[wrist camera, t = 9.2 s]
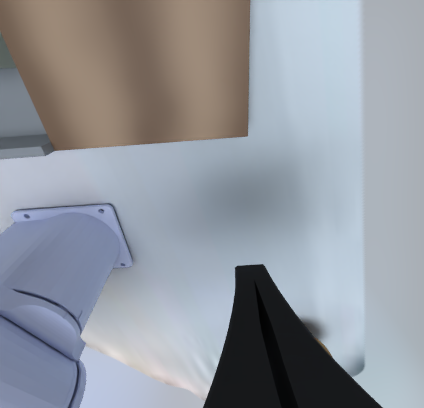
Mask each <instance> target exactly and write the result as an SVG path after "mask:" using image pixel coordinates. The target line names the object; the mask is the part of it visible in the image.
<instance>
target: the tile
mask: <svg viewBox="0 0 424 408" xmlns="http://www.w3.org/2000/svg"><path fill="white" fill-rule="evenodd" d="M6 68H17V67H16V65H15V63H14V61H13V59H12V56H11V54H10V52H9V50H8V48H7V45H6V43H5V41H4V39H3V37H2V34H1V32H0V69H6Z"/></svg>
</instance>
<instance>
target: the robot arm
mask: <svg viewBox="0 0 424 408" xmlns="http://www.w3.org/2000/svg"><path fill="white" fill-rule="evenodd" d="M101 209H103V210H104V211H102V210H101ZM27 214H28V215H27ZM11 217H12V219H13V220H14V222H15V223H14V224H12V225H11V226H10V227H9V228H7V229H6V230H5V231H4V232H2V233H1V234H0V408H79V407H80V404H81V401H82V398H83V394H84V391H85V385H86V370H85V367H84V364H83V363H82V362H81V361H80V359H79V358H80V356H81V354H82V351H83V349H84V347H85V345H86V343H85V342H84V341H83V340H82V339H81V337H80V335H81V333H82V331H83V329H84V327H85V325H86V323H87V321H88V318H89V316H90V314H91V312H92V310H93V308H94V306H95V304H96V302H97V299H98V297H99V295H100V293H101V291H102V289H103V287H104V285H105V283H106V280H107V278H108V276H109V274H110V272H111V270H112V268H124V267H131V266H132V264H133V261H132V258H131V255H130V253H129V250H128V247H127V244H126V242H125V239H124V236H123V233H122V231H121V228H120V225H119V222H118V220H117V217H116V214H115V211H114V209H113V207H112V206H111V205H109V204H103V205H89V206H75V207H60V208H46V209H31V210H17V211H14V212H12V213H11ZM203 408H382V407H381V406H380V405H379V404H378V403H377V402H376V401H375V400H374V399H373V398H372V397H371V396H370V395H369V394H368V393H367V392H366V391H365V390H364V389H363V388H362V387H361V386H360V385H358V383H357V382H356V381H355V380H354V379H353V378H352V377H351V376H350V375H349V374H348V373H347V372H346V371H345V370H344V369H343V368H342V367H341V366H340V365H339V364H338V363H337V362H336V361H335V360H334V359H333V358H332V357H331V356H330V354H329V353H328V352H327V351H326V350H325V349H324V348H323V347H322V346H321V344H320V343H319V342H318V341H317V340H316V339H315V338H314V336H313V335H312V334H311V333H310V332H309V330H308V329H307V328H306V327H305V325H304V324H303V323H302V322H301V320H300V319H299V318H298V316H297V315H296V314H295V312H294V311H293V310H292V308H291V307H290V306H289V304H288V303H287V301H286V300H285V298H284V297H283V296H282V294H281V293H280V291H279V290H278V288H277V286H276V285H275V283H274V282H273V280H272V278H271V277H270V275H269V273H268V271H267V270H266V268H265V266H264V265H263V264H261V265H245V266H237V267H235V296H234V303H233V309H232V314H231V319H230V323H229V328H228V332H227V336H226V340H225V344H224V347H223V351H222V354H221V357H220V361H219V364H218V367H217V370H216V373H215V376H214V379H213V382H212V385H211V388H210V390H209V393H208V396H207V399H206V401H205V404H204V407H203Z"/></svg>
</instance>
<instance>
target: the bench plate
mask: <svg viewBox="0 0 424 408" xmlns="http://www.w3.org/2000/svg"><path fill="white" fill-rule="evenodd" d="M0 32H1V34H2V37H3V39H4V41H5V43H6V45H7V48H8V50H9V52H10V54H11V56H12V59H13V61H14V63H15V65H16V67H17V69H18V72H19V74H20V76H21V78H22V80H23V83H24V85H25V87H26V89H27V91H28V94H29V96H30V98H31V100H32V102H33V105H34V107H35V109H36V111H37V113H38V115H39V118H40V120H41V122H42V124H43V126H44V129H45V131H46V133H47V135H48V137H49V140H50V142H51V144H52V146H53V148H54V151H59V150H72V149H86V148H99V147H112V146H126V145H139V144H152V143H166V142H179V141H193V140H206V139H219V138H233V137H246V136H248V95H249V35H250V0H0Z"/></svg>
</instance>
